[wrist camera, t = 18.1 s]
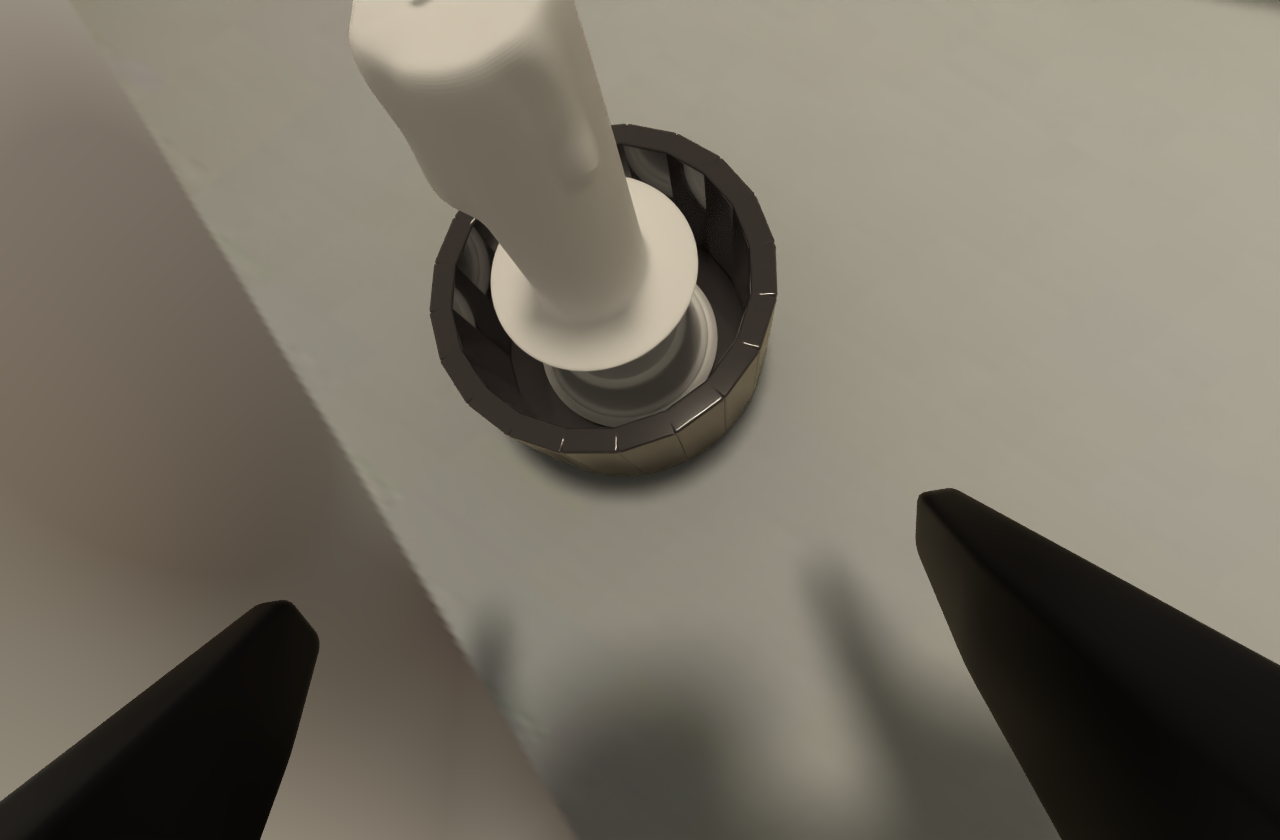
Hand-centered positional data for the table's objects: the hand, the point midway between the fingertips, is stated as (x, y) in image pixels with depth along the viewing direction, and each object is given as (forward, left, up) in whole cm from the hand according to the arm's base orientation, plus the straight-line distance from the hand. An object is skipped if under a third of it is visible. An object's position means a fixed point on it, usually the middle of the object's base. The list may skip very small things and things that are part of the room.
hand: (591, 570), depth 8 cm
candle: (+5, +4, -8) cm, 10 cm away
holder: (+5, +5, -9) cm, 11 cm away
